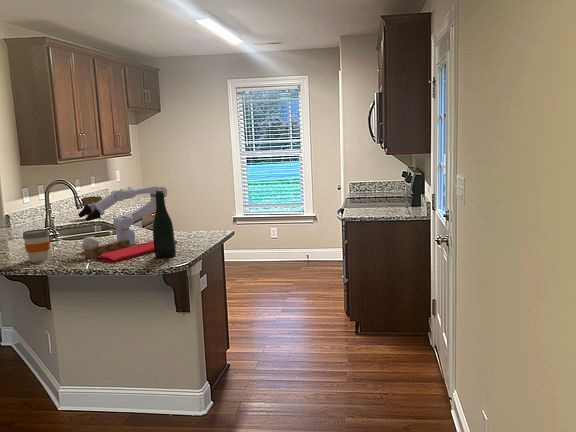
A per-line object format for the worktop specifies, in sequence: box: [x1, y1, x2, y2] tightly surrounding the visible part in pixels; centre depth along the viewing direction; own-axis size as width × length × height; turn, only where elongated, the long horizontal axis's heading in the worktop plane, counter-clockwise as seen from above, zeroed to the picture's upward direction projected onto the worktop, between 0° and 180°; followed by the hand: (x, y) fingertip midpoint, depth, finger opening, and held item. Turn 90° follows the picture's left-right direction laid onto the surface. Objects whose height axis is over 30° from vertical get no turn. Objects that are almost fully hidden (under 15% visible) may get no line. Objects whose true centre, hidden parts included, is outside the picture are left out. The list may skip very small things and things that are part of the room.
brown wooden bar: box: [83, 240, 131, 260], centre depth 294 cm, size 26×3×4 cm, turn 144°
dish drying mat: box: [94, 240, 178, 264], centre depth 291 cm, size 16×41×4 cm, turn 142°
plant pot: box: [81, 195, 103, 217], centre depth 424 cm, size 15×15×16 cm
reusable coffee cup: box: [22, 228, 51, 263], centre depth 287 cm, size 13×12×15 cm
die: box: [81, 236, 100, 250], centre depth 301 cm, size 8×9×10 cm
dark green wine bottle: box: [152, 190, 177, 259], centre depth 276 cm, size 10×10×33 cm
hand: (82, 217), depth 296 cm, fingers open, 7 cm apart
